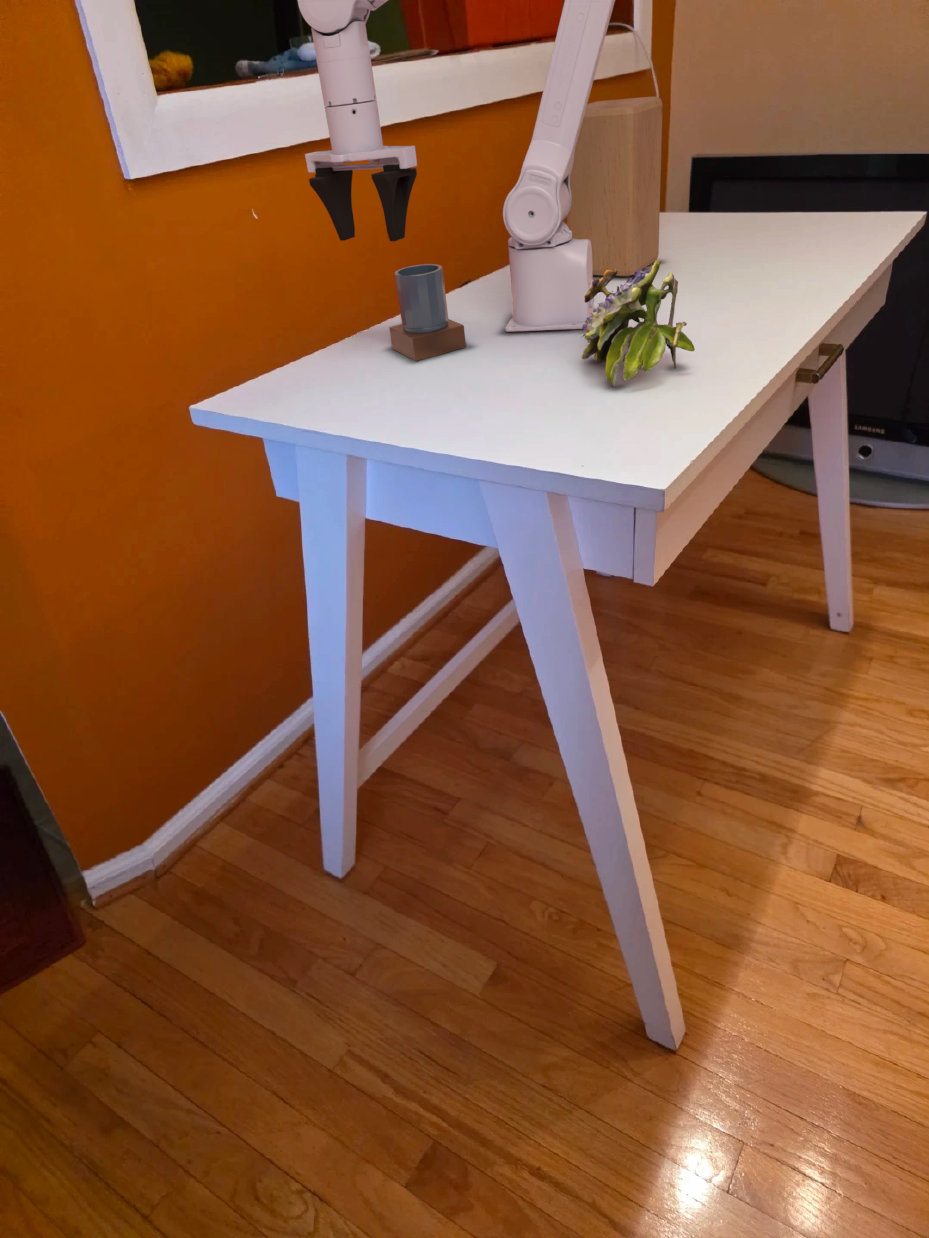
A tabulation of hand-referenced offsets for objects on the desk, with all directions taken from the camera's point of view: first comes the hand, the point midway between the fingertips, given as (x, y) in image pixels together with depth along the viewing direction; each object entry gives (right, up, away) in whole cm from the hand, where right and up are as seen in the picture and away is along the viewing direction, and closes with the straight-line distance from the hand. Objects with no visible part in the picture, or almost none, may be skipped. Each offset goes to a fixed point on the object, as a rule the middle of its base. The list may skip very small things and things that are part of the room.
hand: (372, 239), depth 96 cm
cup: (+7, -12, -4) cm, 14 cm away
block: (+7, -14, -3) cm, 16 cm away
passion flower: (+28, -20, -15) cm, 38 cm away
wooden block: (+32, +5, +19) cm, 38 cm away
